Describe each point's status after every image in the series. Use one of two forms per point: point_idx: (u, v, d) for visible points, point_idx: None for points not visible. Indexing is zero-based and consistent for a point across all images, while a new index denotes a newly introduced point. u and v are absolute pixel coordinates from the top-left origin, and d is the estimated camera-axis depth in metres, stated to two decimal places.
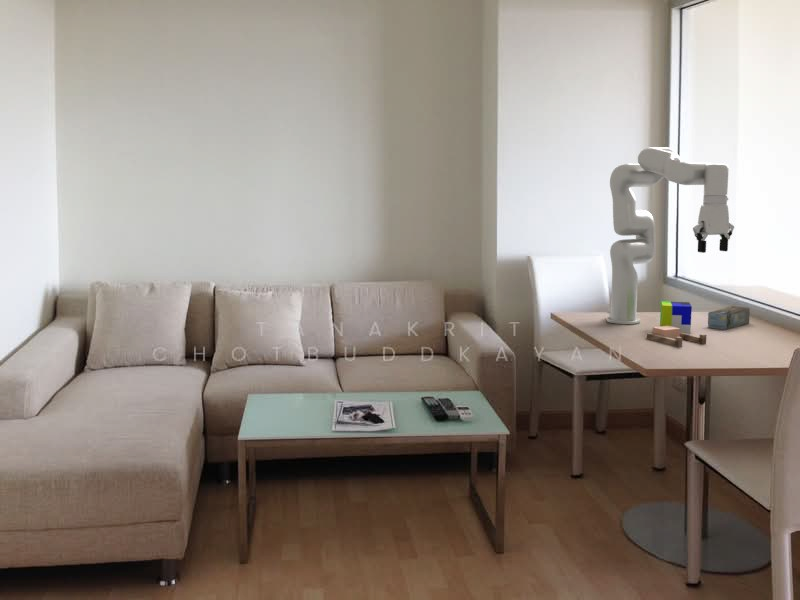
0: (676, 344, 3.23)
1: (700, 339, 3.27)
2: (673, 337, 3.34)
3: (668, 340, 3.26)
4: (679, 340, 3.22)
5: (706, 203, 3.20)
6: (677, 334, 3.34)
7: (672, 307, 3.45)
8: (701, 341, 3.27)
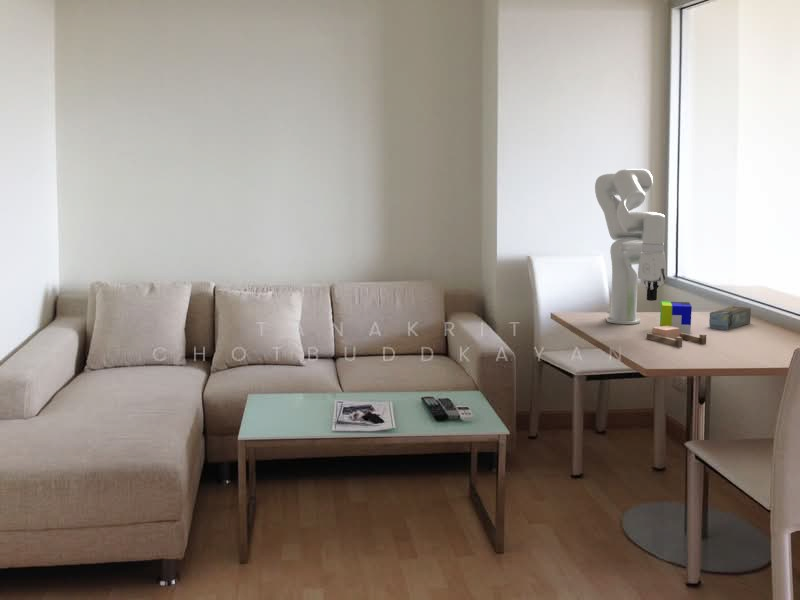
0: (676, 344, 3.23)
1: (700, 339, 3.27)
2: (673, 337, 3.34)
3: (668, 340, 3.26)
4: (679, 340, 3.22)
5: (660, 251, 3.36)
6: (677, 334, 3.35)
7: (672, 307, 3.45)
8: (701, 341, 3.27)
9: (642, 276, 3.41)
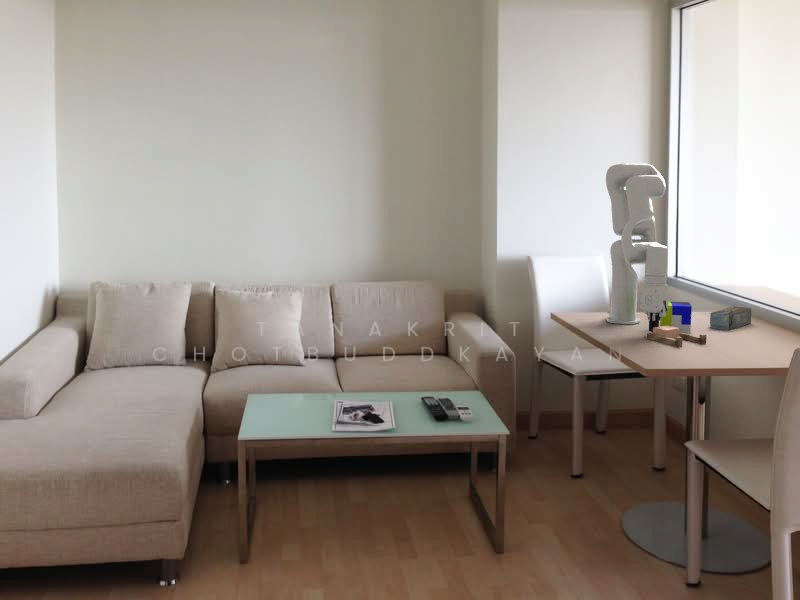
0: (676, 344, 3.23)
1: (700, 339, 3.27)
2: (674, 337, 3.34)
3: (668, 340, 3.26)
4: (679, 340, 3.22)
5: (662, 283, 3.36)
6: (677, 334, 3.35)
7: (672, 307, 3.45)
8: (701, 341, 3.27)
9: (644, 307, 3.41)
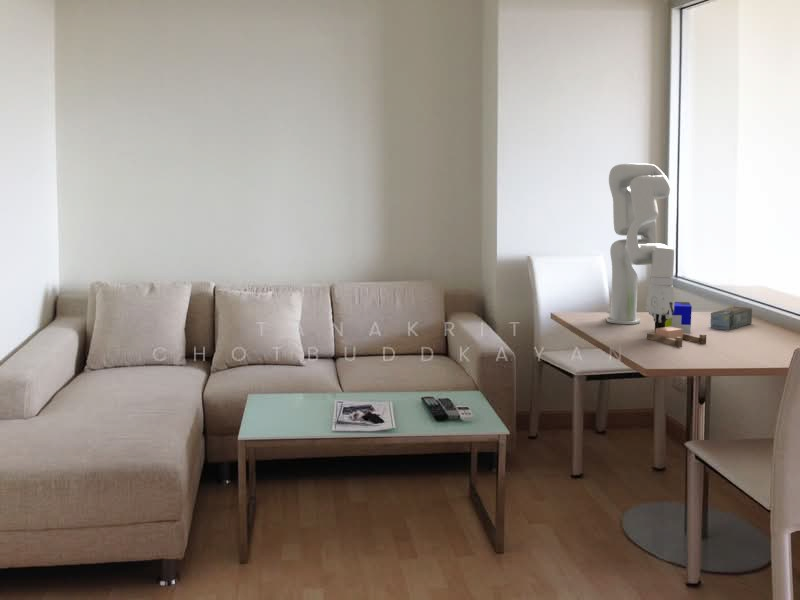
0: (676, 344, 3.23)
1: (700, 339, 3.27)
2: None
3: (668, 340, 3.26)
4: (679, 340, 3.22)
5: (668, 285, 3.33)
6: (680, 334, 3.33)
7: None
8: (701, 341, 3.27)
9: (650, 309, 3.38)
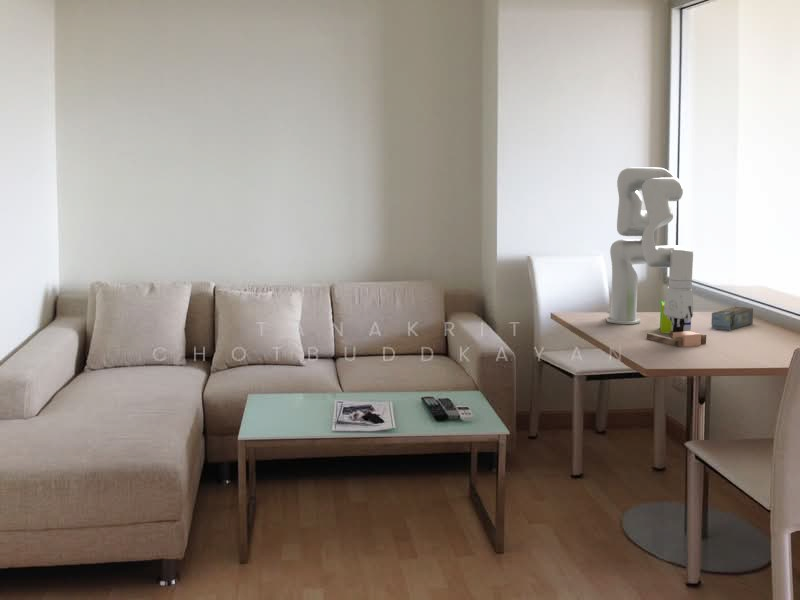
0: (676, 344, 3.23)
1: None
2: (694, 343, 3.24)
3: (668, 340, 3.26)
4: (679, 340, 3.22)
5: (687, 288, 3.25)
6: (698, 339, 3.24)
7: None
8: (701, 341, 3.27)
9: (668, 312, 3.30)
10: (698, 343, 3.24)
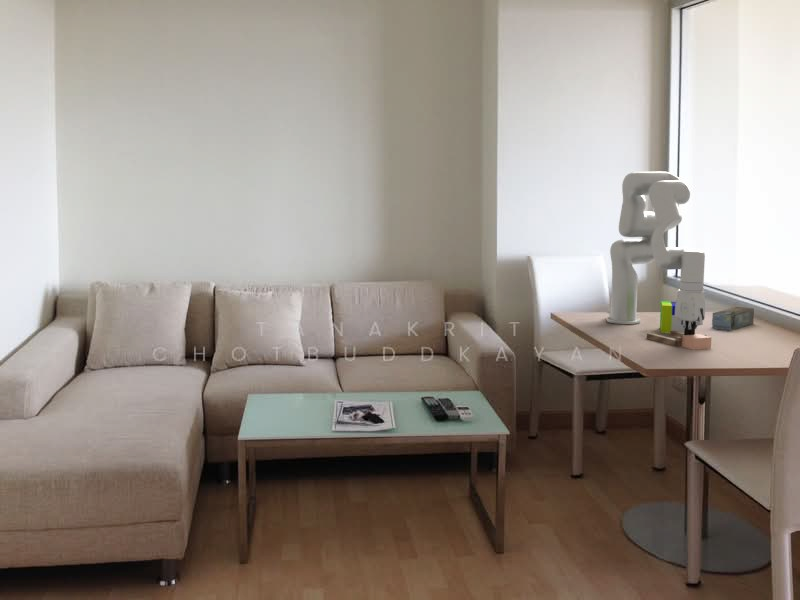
0: (676, 344, 3.23)
1: None
2: (703, 346, 3.18)
3: (668, 340, 3.26)
4: (679, 340, 3.22)
5: (699, 290, 3.20)
6: (708, 343, 3.19)
7: (672, 307, 3.45)
8: None
9: (680, 315, 3.25)
10: (708, 347, 3.19)
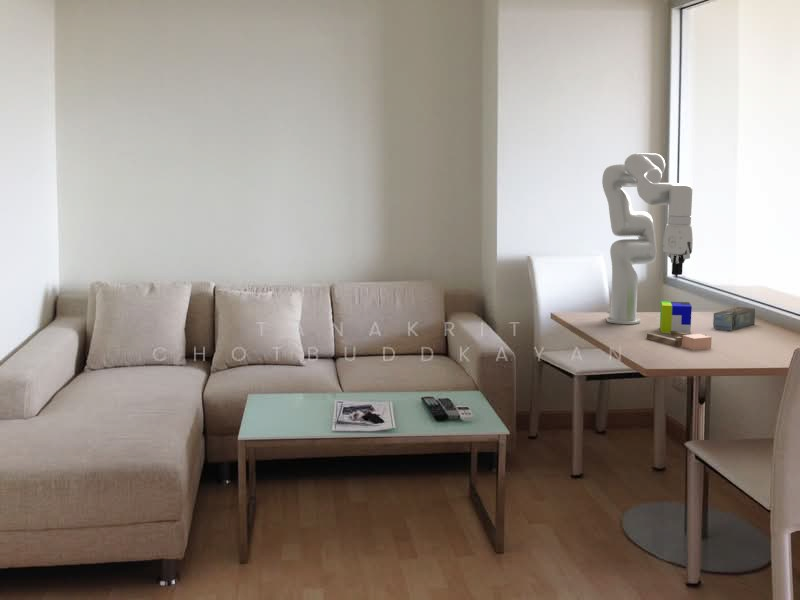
0: (676, 344, 3.23)
1: None
2: (704, 346, 3.18)
3: (668, 340, 3.26)
4: (679, 340, 3.22)
5: (686, 224, 3.23)
6: (708, 343, 3.19)
7: (672, 307, 3.45)
8: None
9: (667, 249, 3.28)
10: (708, 346, 3.19)
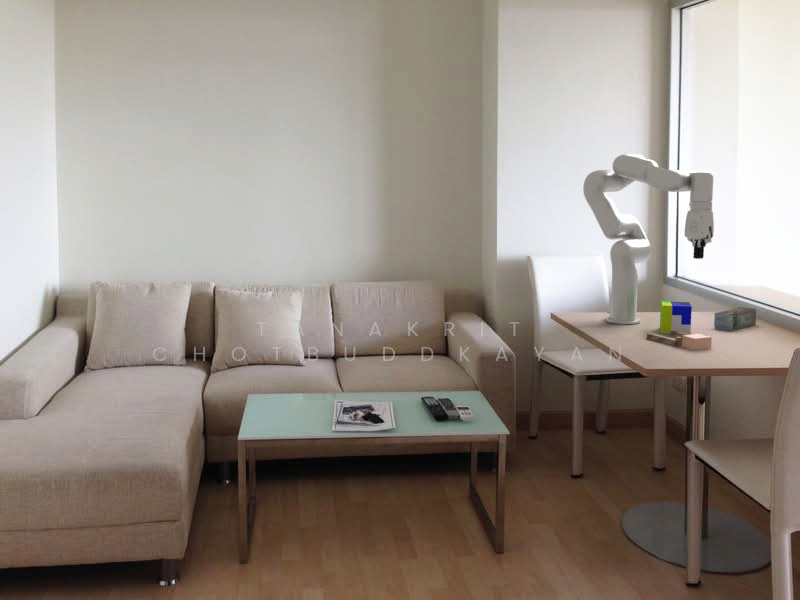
0: (676, 344, 3.23)
1: None
2: (704, 346, 3.18)
3: (668, 340, 3.26)
4: (679, 340, 3.22)
5: (708, 209, 3.36)
6: (708, 343, 3.19)
7: (672, 307, 3.45)
8: None
9: (689, 234, 3.41)
10: (708, 346, 3.19)
